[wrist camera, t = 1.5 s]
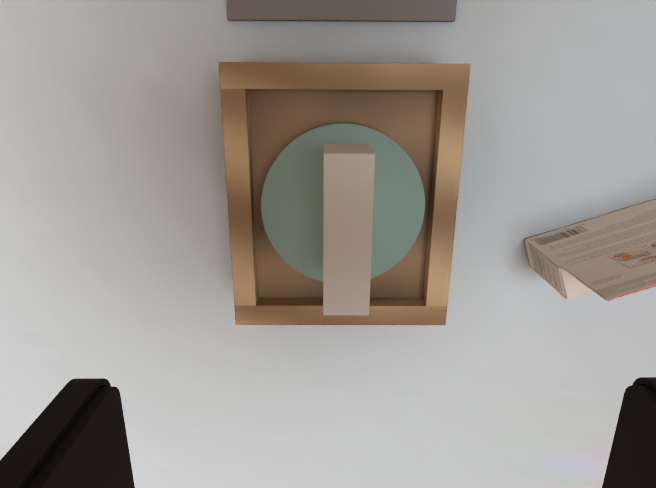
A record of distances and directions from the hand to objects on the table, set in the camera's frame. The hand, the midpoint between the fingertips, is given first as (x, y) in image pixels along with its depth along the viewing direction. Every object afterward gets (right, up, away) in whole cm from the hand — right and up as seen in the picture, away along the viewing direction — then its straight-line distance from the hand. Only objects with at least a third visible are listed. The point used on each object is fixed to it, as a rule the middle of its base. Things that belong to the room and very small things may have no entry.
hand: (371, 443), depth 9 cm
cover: (0, +6, +17) cm, 18 cm away
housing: (0, +8, +22) cm, 23 cm away
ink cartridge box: (+18, +5, +23) cm, 30 cm away
